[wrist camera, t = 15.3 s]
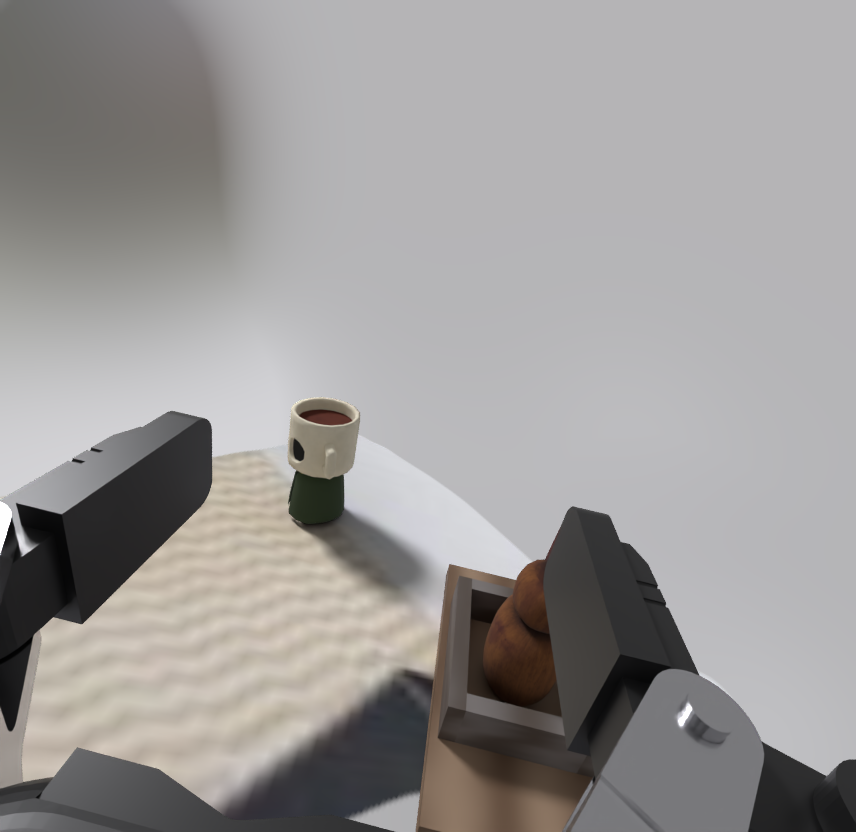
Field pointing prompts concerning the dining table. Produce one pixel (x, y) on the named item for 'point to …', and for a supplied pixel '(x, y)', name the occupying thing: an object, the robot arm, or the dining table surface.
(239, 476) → the dining table surface
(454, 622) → the socket stand
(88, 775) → the robot arm
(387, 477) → the dining table surface
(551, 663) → the wooden figurine
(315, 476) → the character mug
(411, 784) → the dining table surface
